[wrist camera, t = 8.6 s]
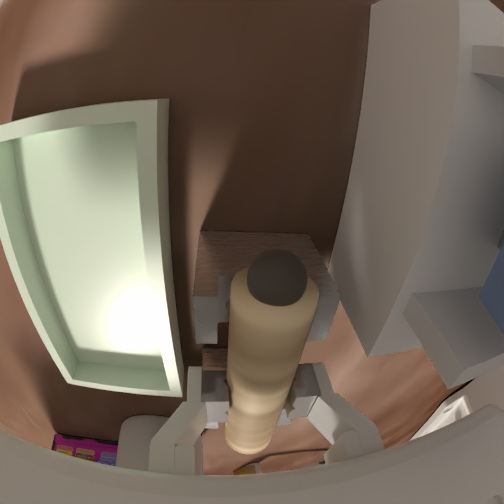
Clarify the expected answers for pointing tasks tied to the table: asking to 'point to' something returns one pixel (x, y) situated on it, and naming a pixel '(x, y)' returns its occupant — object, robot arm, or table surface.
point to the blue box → (495, 291)
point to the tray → (95, 241)
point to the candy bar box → (86, 448)
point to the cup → (144, 442)
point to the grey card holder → (427, 186)
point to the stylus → (265, 344)
